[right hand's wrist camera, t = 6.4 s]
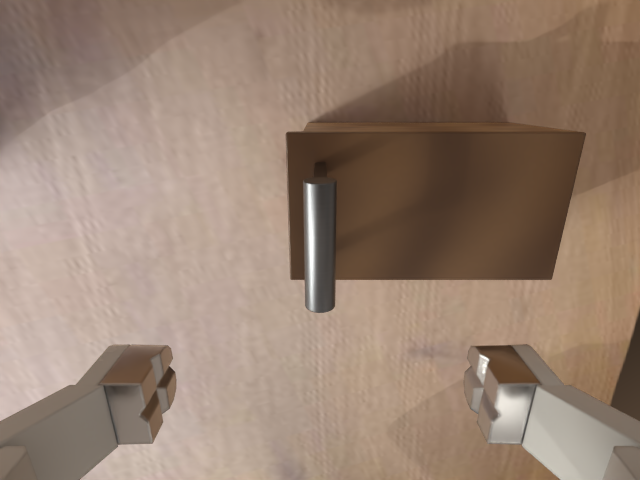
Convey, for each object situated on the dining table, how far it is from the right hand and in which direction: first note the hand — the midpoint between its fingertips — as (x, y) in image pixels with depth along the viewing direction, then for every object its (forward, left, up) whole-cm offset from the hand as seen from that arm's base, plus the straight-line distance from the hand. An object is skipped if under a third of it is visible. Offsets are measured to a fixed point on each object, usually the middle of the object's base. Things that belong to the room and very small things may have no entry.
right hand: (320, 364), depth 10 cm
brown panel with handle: (+3, +6, -16) cm, 17 cm away
